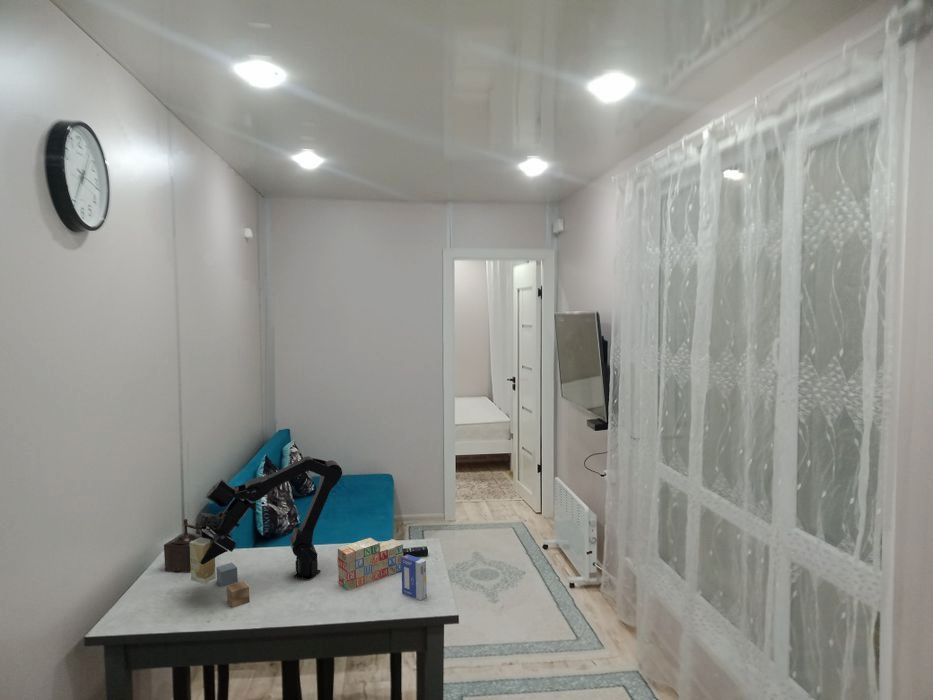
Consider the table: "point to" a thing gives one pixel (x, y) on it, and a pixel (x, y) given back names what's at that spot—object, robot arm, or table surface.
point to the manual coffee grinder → (180, 550)
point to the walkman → (414, 577)
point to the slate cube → (227, 574)
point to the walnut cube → (238, 594)
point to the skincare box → (196, 554)
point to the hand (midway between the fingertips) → (197, 559)
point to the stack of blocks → (368, 561)
